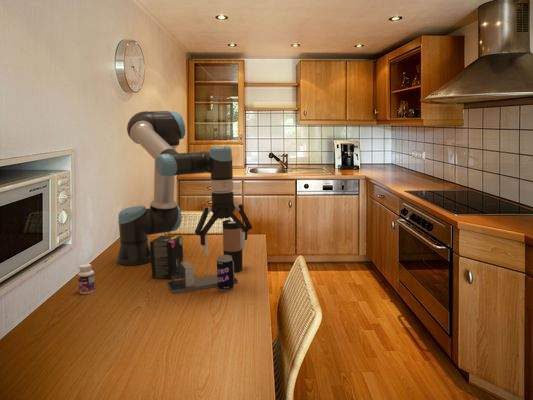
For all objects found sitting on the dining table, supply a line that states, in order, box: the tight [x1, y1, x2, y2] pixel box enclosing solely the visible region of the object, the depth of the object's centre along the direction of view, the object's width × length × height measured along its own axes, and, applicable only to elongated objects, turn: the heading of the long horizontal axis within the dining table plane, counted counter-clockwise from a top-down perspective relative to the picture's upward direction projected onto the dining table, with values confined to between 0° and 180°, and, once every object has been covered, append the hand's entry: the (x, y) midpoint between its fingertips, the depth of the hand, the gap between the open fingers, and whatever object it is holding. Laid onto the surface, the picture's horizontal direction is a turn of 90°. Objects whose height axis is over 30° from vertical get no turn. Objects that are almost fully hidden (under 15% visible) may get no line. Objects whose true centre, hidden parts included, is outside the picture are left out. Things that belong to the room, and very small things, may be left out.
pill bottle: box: [77, 263, 96, 295], centre depth 165 cm, size 5×5×10 cm
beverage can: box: [216, 254, 235, 292], centre depth 164 cm, size 6×6×12 cm
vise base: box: [166, 261, 239, 295], centre depth 170 cm, size 10×24×8 cm, turn 114°
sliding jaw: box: [171, 260, 195, 287], centre depth 167 cm, size 8×7×7 cm
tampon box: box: [149, 235, 184, 280], centre depth 182 cm, size 11×9×15 cm
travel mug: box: [222, 219, 243, 274], centre depth 185 cm, size 8×8×20 cm
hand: (224, 251), depth 163 cm, fingers open, 13 cm apart
